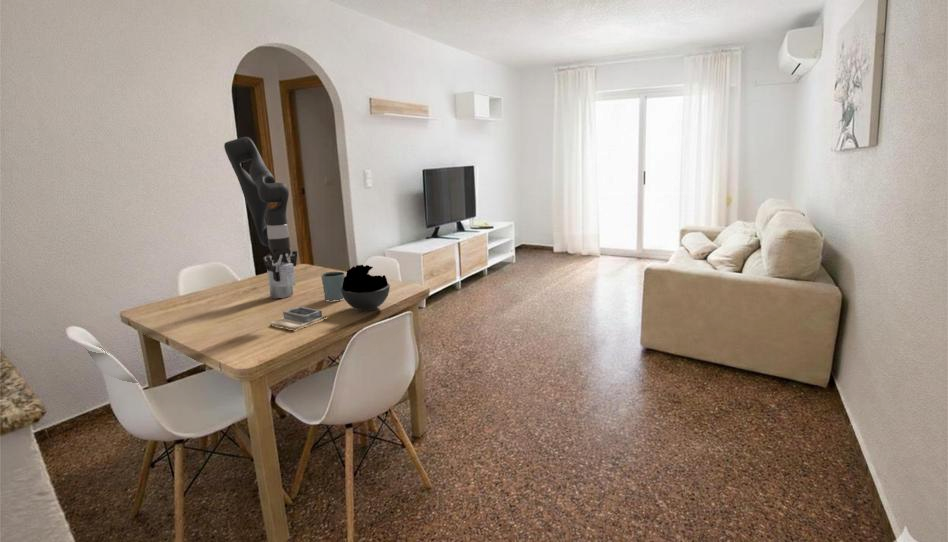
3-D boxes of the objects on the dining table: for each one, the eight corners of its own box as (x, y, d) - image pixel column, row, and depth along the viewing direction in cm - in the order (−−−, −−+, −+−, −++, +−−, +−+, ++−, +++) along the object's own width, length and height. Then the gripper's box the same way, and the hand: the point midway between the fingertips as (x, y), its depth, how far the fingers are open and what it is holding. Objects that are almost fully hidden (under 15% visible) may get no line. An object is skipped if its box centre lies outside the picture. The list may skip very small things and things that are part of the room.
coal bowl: (368, 299, 223) (365, 259, 219) (400, 306, 212) (398, 264, 208) (332, 311, 207) (328, 268, 203) (365, 320, 196) (362, 274, 192)
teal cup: (319, 301, 223) (316, 275, 220) (333, 295, 232) (330, 270, 229) (337, 303, 219) (335, 277, 216) (351, 297, 228) (349, 272, 225)
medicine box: (296, 284, 193) (293, 263, 191) (288, 287, 188) (285, 265, 187) (280, 283, 195) (277, 262, 193) (271, 286, 191) (269, 264, 189)
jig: (303, 314, 205) (302, 305, 204) (327, 319, 198) (326, 309, 197) (270, 325, 192) (269, 316, 191) (295, 331, 185) (294, 321, 184)
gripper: (288, 233, 195) (292, 274, 199) (255, 238, 184) (261, 282, 187) (300, 234, 191) (305, 276, 195) (268, 239, 180) (273, 285, 184)
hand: (283, 279), depth 191 cm, fingers closed on medicine box, 5 cm apart
